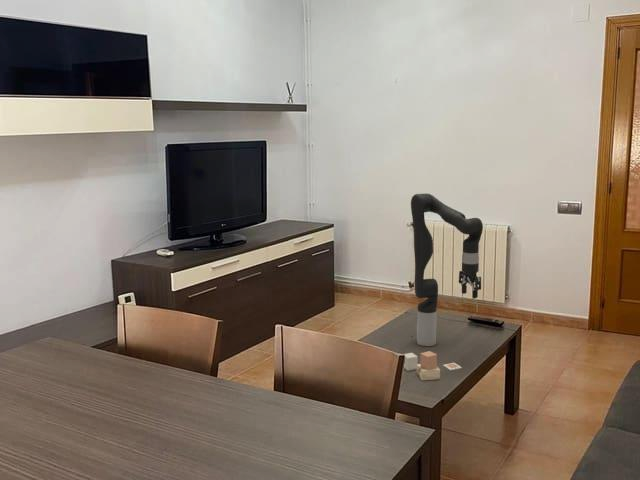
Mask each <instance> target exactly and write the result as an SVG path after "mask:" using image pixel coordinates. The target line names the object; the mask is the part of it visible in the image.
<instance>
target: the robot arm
mask: <svg viewBox="0 0 640 480" xmlns="http://www.w3.org/2000/svg"><path fill="white" fill-rule="evenodd" d="M410 210H411V217H412V218H411V219H412V227H413V249H414V250H413V252H414V294H415V296H416V298H418V299H425V300H423V301H421V302H420V303H418V305H417V323H416V343H417V344H418V345H419V346H422V347H432V346H435V345H437V307H438V297H439V284H438V281H437V280H436V279H435V278H424V275H425V270H426V268H427V265H428V264H429V262H430V260H431V259H432V256H433V254H434V239H433V236H432V234H431V232H430V231H429V228H428V227H427V225H426V221H425V219H426V218H425V213H428V212H430V213H434V214H437V215H439V216H440V218H441V220H442V221H444V222H445V223H447V224H448V225H451V226H452V227H455V228H456V229H457V230H458V231H459V232H460V233H461V234H464V235H467V237H466V238H465V239H464V240H463V242H462V255H461V271H459V272H458V273H459V275H458V284H460V286H461V293H462V294H463V295H465V294H467V290H468V289H467V288H468V284H469V286H470V287H471V288H472V299H477V298H478V294H479V293H478V292H479V291H481V290H482V277H481V276H477V273H478V272H479V270H480V269H479V268H480V267H479V265H480V264H479V263H480V256H479V255H480V254H479V251H480V250H479V246H480V241H481V237H482V234H483V231H484V230H483V229H484V225H483V222H482V220H481V219H480V218H479V217H471V218H466V215H465V214H464V213H463V212H460V211H459V210H456V209H454V208H452V207H450V206H449V205H446V204H445V203H443V202H442V201H440V200H439V199H438V198H437V197H435V196H434V195H433V194H430V193H416V194H413V196H412V197H411V200H410Z"/></svg>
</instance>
